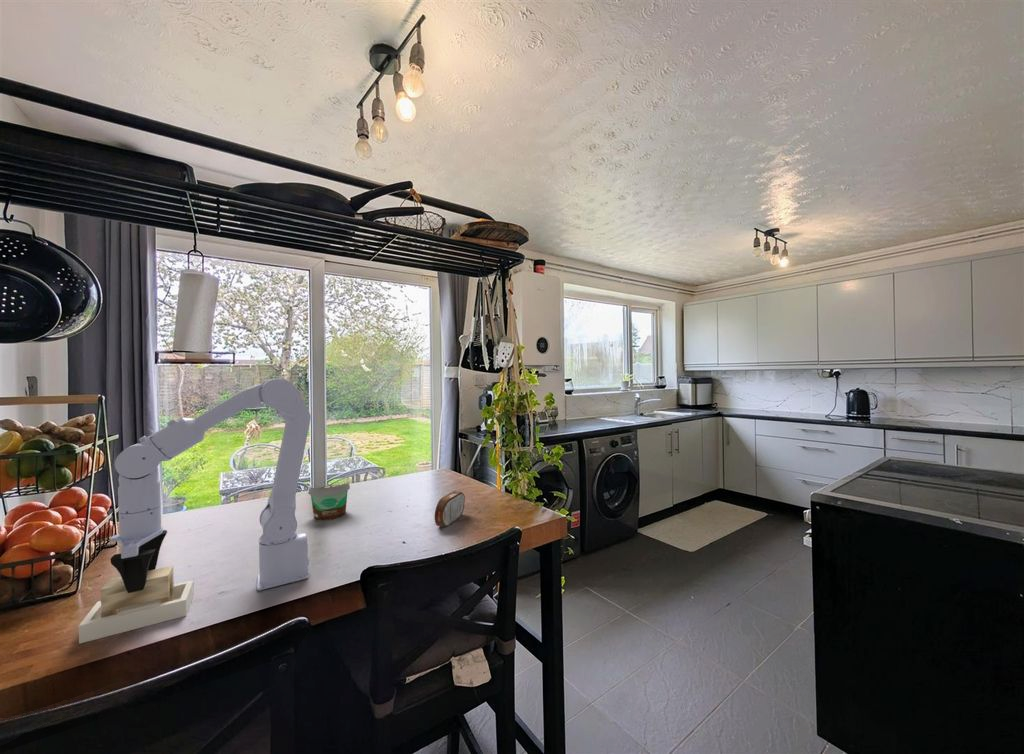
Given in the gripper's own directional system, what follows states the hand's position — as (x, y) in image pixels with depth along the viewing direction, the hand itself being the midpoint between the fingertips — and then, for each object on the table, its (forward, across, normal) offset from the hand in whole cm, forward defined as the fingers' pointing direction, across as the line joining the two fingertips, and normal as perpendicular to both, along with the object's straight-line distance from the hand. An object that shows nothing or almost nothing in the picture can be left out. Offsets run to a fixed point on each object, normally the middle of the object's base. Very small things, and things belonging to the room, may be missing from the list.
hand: (142, 581), depth 73 cm
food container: (+7, -37, +37) cm, 53 cm away
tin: (+7, -12, +67) cm, 68 cm away
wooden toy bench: (+6, 0, 0) cm, 6 cm away
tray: (+7, 0, 0) cm, 7 cm away
